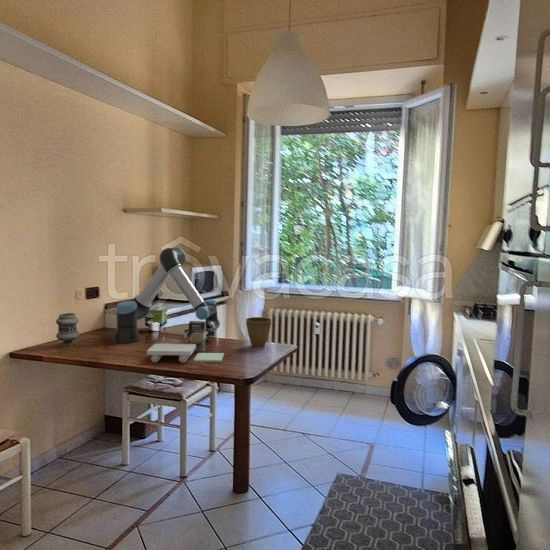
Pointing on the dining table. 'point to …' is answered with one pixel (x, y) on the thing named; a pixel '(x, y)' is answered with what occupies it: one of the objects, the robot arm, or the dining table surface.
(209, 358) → the pad
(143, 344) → the dining table surface
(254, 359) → the dining table surface
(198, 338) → the coffee box
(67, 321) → the apothecary jar
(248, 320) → the plant pot
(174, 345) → the slab on rollers
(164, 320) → the tea box
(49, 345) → the dining table surface
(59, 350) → the dining table surface
